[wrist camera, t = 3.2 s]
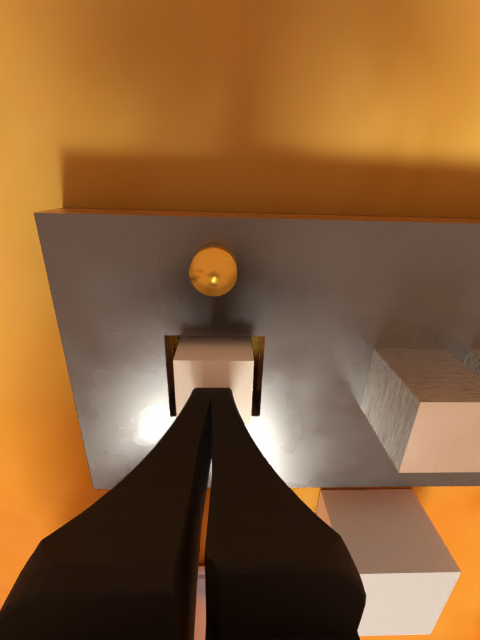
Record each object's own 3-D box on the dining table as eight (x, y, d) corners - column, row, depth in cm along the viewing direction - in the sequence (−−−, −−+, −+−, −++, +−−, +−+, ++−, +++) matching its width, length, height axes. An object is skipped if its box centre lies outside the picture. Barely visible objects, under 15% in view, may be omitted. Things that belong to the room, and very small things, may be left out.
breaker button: (186, 383, 16) (177, 424, 13) (183, 327, 15) (173, 360, 12) (247, 383, 16) (250, 424, 13) (249, 328, 15) (254, 360, 12)
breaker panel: (107, 457, 18) (59, 567, 13) (62, 208, 13) (-50, 226, 7) (460, 455, 18) (547, 558, 13) (554, 220, 13) (752, 244, 8)
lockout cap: (309, 549, 21) (329, 636, 17) (320, 490, 19) (345, 574, 15) (392, 547, 22) (430, 634, 18) (411, 489, 19) (461, 572, 15)
